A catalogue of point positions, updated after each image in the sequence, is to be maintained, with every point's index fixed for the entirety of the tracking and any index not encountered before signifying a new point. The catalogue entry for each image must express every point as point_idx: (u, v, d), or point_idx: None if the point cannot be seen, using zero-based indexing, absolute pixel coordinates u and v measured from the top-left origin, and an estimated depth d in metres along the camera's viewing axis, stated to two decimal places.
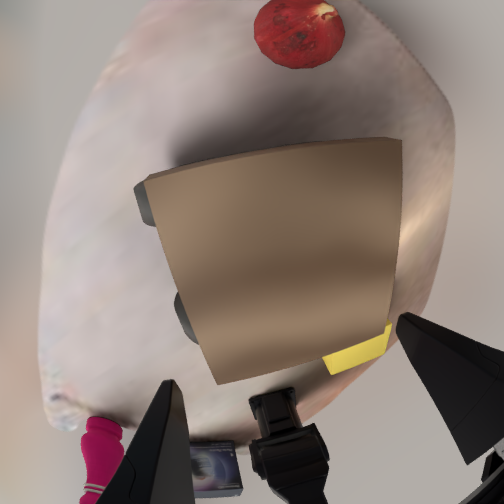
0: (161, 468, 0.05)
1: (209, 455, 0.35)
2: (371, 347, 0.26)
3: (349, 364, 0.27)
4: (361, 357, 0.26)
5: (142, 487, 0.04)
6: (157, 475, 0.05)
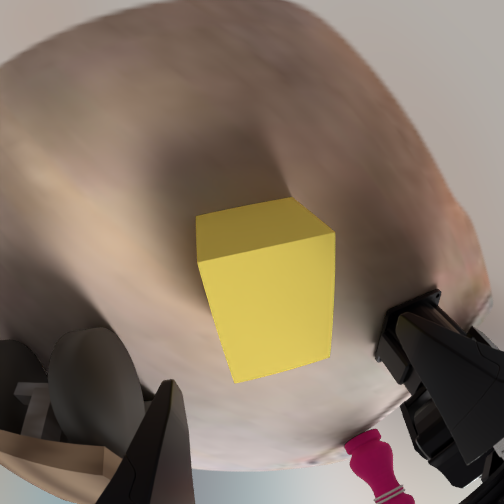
0: (161, 468, 0.05)
1: None
2: (275, 299, 0.10)
3: (317, 332, 0.12)
4: (306, 312, 0.11)
5: (142, 487, 0.04)
6: (157, 475, 0.05)
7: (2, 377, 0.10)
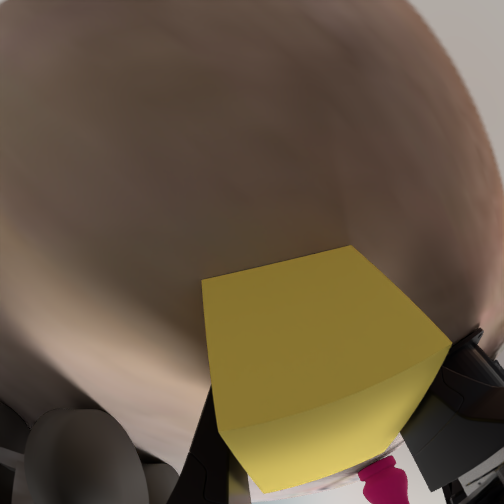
0: (231, 461, 0.05)
1: None
2: (342, 437, 0.05)
3: (381, 441, 0.06)
4: (376, 433, 0.06)
5: (217, 484, 0.04)
6: None
7: None
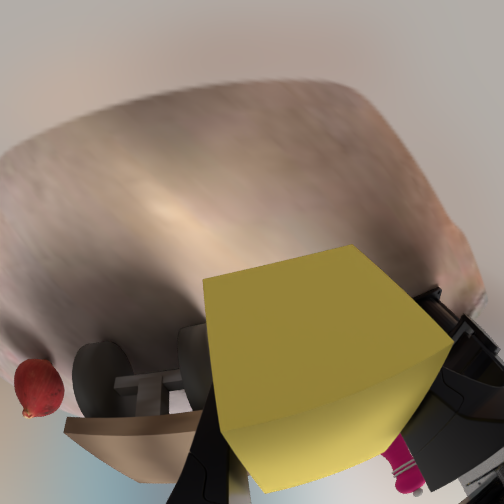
0: (231, 461, 0.05)
1: None
2: (344, 436, 0.05)
3: (383, 441, 0.06)
4: (378, 433, 0.06)
5: (217, 484, 0.04)
6: None
7: (105, 374, 0.17)
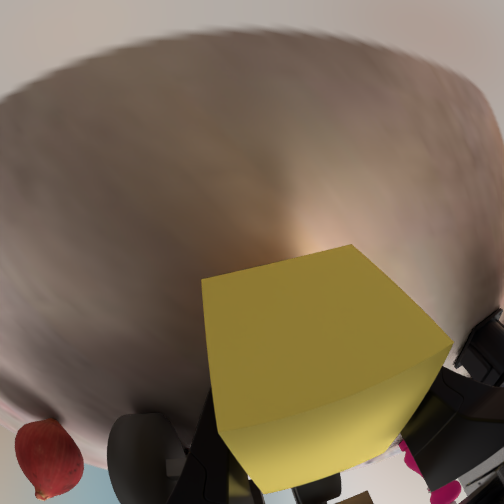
0: (231, 461, 0.05)
1: None
2: (343, 437, 0.05)
3: (382, 441, 0.06)
4: (377, 434, 0.06)
5: (217, 484, 0.04)
6: None
7: (156, 463, 0.10)
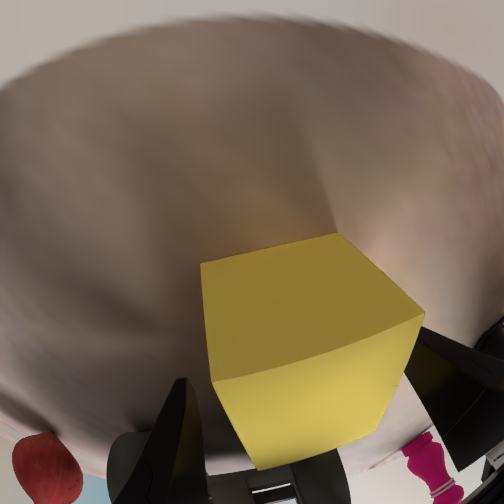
0: (178, 467, 0.05)
1: None
2: (327, 403, 0.06)
3: (369, 417, 0.07)
4: (362, 405, 0.07)
5: (160, 487, 0.04)
6: (175, 474, 0.05)
7: None
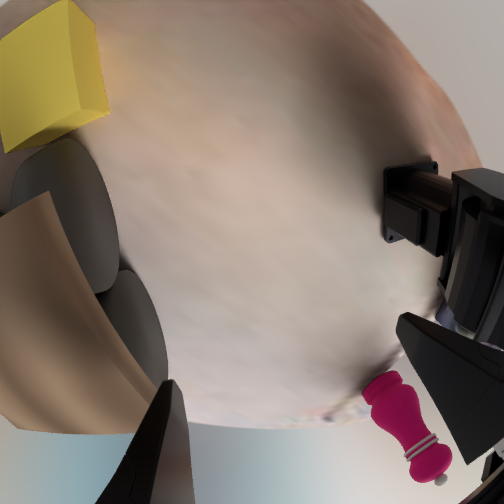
0: (161, 468, 0.05)
1: None
2: (27, 52, 0.06)
3: (60, 74, 0.08)
4: (48, 56, 0.07)
5: (142, 487, 0.04)
6: (157, 475, 0.05)
7: None
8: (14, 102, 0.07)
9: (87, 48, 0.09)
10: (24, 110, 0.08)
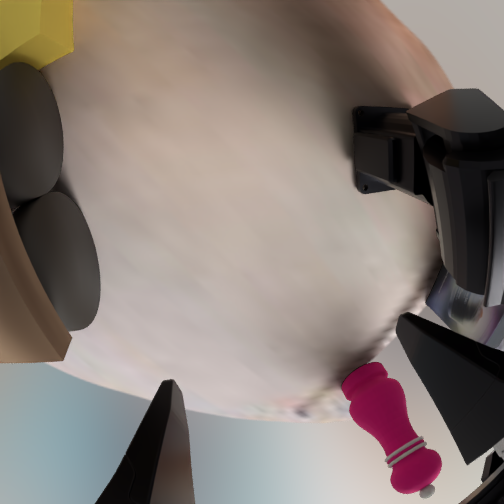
0: (161, 468, 0.05)
1: None
2: None
3: (30, 11, 0.05)
4: None
5: (142, 487, 0.04)
6: (157, 475, 0.05)
7: None
8: None
9: None
10: None
